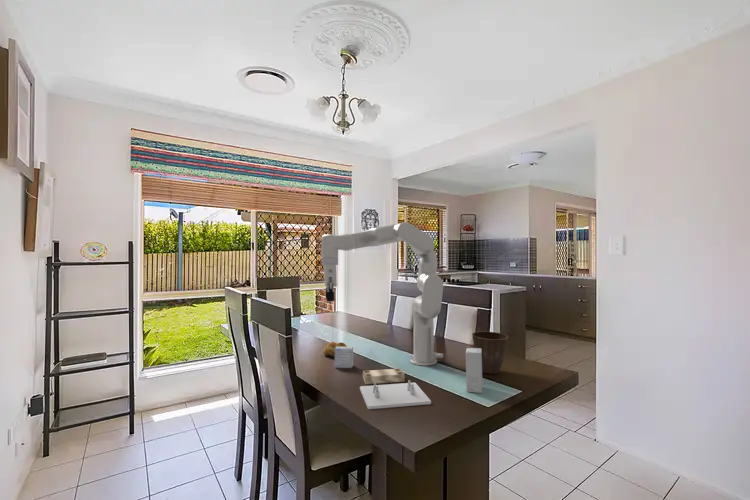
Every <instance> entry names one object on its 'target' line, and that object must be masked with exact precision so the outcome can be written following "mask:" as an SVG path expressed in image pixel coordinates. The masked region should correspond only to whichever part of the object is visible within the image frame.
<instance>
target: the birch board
mask: <svg viewBox="0 0 750 500" xmlns="http://www.w3.org/2000/svg"><path fill="white" fill-rule="evenodd" d="M405 374H406V373H404V371H403V370H402V369H401V368H389V369H387V368H386V369H385V368H384V369H375V370H374V369H372V370H362V380H363V382H364V384H365V385H372V384H373V385H374V383H376V384H389V383H390V384H392V383H401V382H403V383H404V382H405V383H406V381H405V380H406V379H405Z"/></svg>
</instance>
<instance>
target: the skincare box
mask: <svg viewBox="0 0 750 500" xmlns="http://www.w3.org/2000/svg"><path fill="white" fill-rule="evenodd" d="M465 350H466V351H465V381H466V382H465V383H466V384H465V385H466V392H468V393H469V392H470V393H476V394H482V393H483V385H484V384H483V372H482V349H481V348H474V347H467V348H466V349H465Z"/></svg>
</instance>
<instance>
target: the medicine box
mask: <svg viewBox="0 0 750 500" xmlns="http://www.w3.org/2000/svg"><path fill="white" fill-rule="evenodd" d="M353 366H354V346H347V347H336V348H335V358H334V368H338V369H352V368H354V367H353Z"/></svg>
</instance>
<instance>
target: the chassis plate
mask: <svg viewBox="0 0 750 500" xmlns="http://www.w3.org/2000/svg"><path fill="white" fill-rule="evenodd" d="M407 381H408V382H405V383H404V382H403V383H401V382H400V383H390V384H389V383H386V384H378V385H377V383H374V384H373V385H361V386H359V390H360V393H361V396H362V398H363V400H364V403H365V406H366V407H367V410H375V409H388V408H397V407H399V408H400V407H411V406H423V405H431V404H432V401H431V399H430V398H429V397H428V396H427V395H426V393H425V392H424V390H422V389H421V387H420V386H419V385H418V384H417V383H416V382H411V380H410V379H408V380H407Z"/></svg>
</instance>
